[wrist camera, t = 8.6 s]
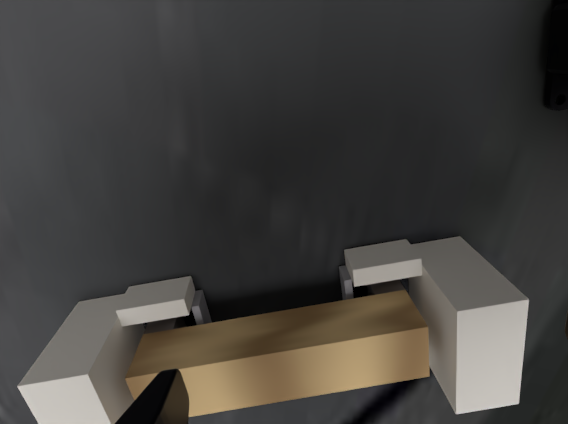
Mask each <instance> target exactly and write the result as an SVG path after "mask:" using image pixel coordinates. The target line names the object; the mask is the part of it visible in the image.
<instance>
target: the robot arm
mask: <svg viewBox="0 0 568 424" xmlns="http://www.w3.org/2000/svg"><path fill="white" fill-rule="evenodd" d="M558 95H560V99H559V101H558V102H557V103H555V100H556V97H557V96H558ZM544 101H545V106H546V107H547V108H549V109H552V110H565V109H568V0H554V5H553V11H552V15H551V26H550V36H549V47H548V57H547V79H546V90H545V100H544ZM565 333H566V336H567V339H568V310H567V317H566V324H565ZM188 418H189V395H188V392H187V389H186V386H185V383H184V380H183V377H182V375H181V372H180V371H179V369H176V368H175V369H169V370H163V371H161V372H159V373H158V374H157V375H156V376H155V378H154V379H153V380H152V381H151V382H150V383H149V384H148V386H147V387H146V388H145V389H144V390H143V391H142V393H141V394H140V395H139V396H138V397H137V398H136V399H135V401H134V402H133V403H132V404H131V405H130V406H129V408H128V409H127V410H126V411H125V412H124V413H123V414H122V416H121V417H120V418H119V419H118V420H117V421H116V422H115V424H188Z"/></svg>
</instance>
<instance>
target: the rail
mask: <svg viewBox="0 0 568 424" xmlns="http://www.w3.org/2000/svg"><path fill="white" fill-rule="evenodd" d="M367 294H368V296H365V297H359V298H353V299H347V300H342V301H336V302H330V303H324V304H318V305H312V306H307V307H301V308H295V309H289V310H283V311H277V312H271V313H266V314H260V315H254V316H248V317H242V318H236V319H230V320H225V321H219V322H213V323H207V324H201V325H195V326H189V327H186V324H185V320H184V317H183V316H181V317H175V318H169V319H164V320H158V321H152V322H148V324H147V326H146V328H145V331H144V333H143V336H142V338H141V341H140V343H139V345H138V348H137V350H136V353H135V355H134V358H133V360H132V362H131V365H130V367H129V370H128V372H127V374H126V377H125V380H126V382H127V385H128V387H129V389H130V392H131V394H132V397H133V399H134V401H135V399H136V398H137V397H138V396H139V395H140V394H141V393H142V391H143V390H144V389H145V388H146V387H147V386H148V384H149V383H150V382H151V381H152V380H153V379H154V378H155V376H156V375H157V374H158V373H159V372H161V371H163V370H169V369H175V368H176V369H179V371H180V372H181V375H182V377H183V380H184V383H185V386H186V389H187V392H188V395H189V417H192V416H198V415H204V414H210V413H216V412H222V411H228V410H234V409H239V408H245V407H251V406H257V405H263V404H269V403H275V402H281V401H287V400H293V399H299V398H305V397H310V396H316V395H322V394H328V393H334V392H340V391H346V390H352V389H358V388H364V387H370V386H375V385H381V384H387V383H393V382H399V381H405V380H411V379H417V378H423V377H429V336H428V326H427V324H426V322H425V321H424V319H423V317H422V316H421V314H420V313H419V311H418V309H417V308H416V306H415V304H414V303H413V301H412V300H411V298H410V296H409V295H408V293H407V291H406V290H405V288H404V287H403V285H402V283H401V282H400V280H399V279H398V280H392V281H386V282H380V283H374V284H369V285H367Z"/></svg>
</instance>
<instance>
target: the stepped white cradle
mask: <svg viewBox="0 0 568 424" xmlns="http://www.w3.org/2000/svg"><path fill="white" fill-rule="evenodd" d="M344 255H345V263H346V265H344V266H339V273H340V281H341V289H342V297H343V300H347V299H353V298H354V297H353V288H352V282H353V284H354V287H357V286H363V285H369V284H374V283H380V282H386V281H392V280H398V279H404V278H408V286H409V296H410V298H411V300H412V301H413V303H414V304H415V306H416V308H417V309H418V311H419V313H420V314H421V316H422V317H423V319H424V321H425V322H426V324H427V326H428V336H429V366H430V368H431V369H432V371H433V373H434V375H435V377H436V379H437V381H438V382H439V384H440V386H441V388H442V390H443V392H444V393H445V395H446V397H447V399H448V401H449V403H450V404H451V406H452V408H453V410H454V412H455V414H462V413H468V412H473V411H479V410H485V409H491V408H497V407H503V406H509V405H515V404H519V395H520V385H521V375H522V365H523V355H524V345H525V335H526V324H527V314H528V304H529V299H528V298H527V297H526V296H525V295H524V294H523V293H521V292H520V291H519V290H518V289H517V288H516V287H515V286H514V285H513V284H512V283H511V282H509V281H508V280H507V279H506V278H505V277H504V276H503V275H502V274H501V273H500V272H499V271H497V270H496V269H495V268H494V267H493V266H492V265H491V264H490V263H489V262H488V261H487V260H485V259H484V258H483V257H482V256H481V255H480V254H479V253H478V252H477V251H476V250H475V249H473V248H472V247H471V246H470V245H469V244H468V243H467V242H466V241H465V240H464V239H463V238H461V237H460V236H458V237H452V238H446V239H440V240H435V241H429V242H423V243H417V244H410V243H409V242H408V240H407V239H403V240H397V241H391V242H386V243H380V244H374V245H368V246H362V247H357V248H351V249H345V250H344ZM191 308H192V311H193V314H194V318H195V321H196V324H197V325H201V324H207V323H212V321H211V317H210V314H209V311H208V307H207V304H206V300H205V297H204V293H203V290H198V291H195V287H194V284H193V281H192V277H191V276H187V277H182V278H176V279H170V280H164V281H158V282H153V283H147V284H141V285H135V286H129V288H128V289H127V291H126V293H125V294H120V295H114V296H108V297H102V298H96V299H90V300H85V301H79V302H78V303H77V305H76V306H75V307H74V309H73V310H72V312H71V313H70V314H69V316H68V317H67V318H66V320H65V321H64V323H63V324H62V325H61V327H60V328H59V329H58V331H57V332H56V334H55V335H54V336H53V338H52V339H51V340H50V342H49V343H48V345H47V346H46V347H45V349H44V350H43V352H42V353H41V354H40V356H39V357H38V358H37V360H36V361H35V363H34V364H33V365H32V367H31V368H30V369H29V371H28V372H27V374H26V375H25V376H24V378H23V379H22V380H21V382H20V383H19V385H18V386H17V387H18V389H19V390H20V392H21V394H22V396H23V397H24V399H25V401H26V403H27V404H28V406H29V408H30V410H31V411H32V413H33V415H34V417H35V418H36V420H37V422H38V424H115V422H116V421H117V420H118V419H119V418H120V417H121V416H122V414H123V413H124V412H125V411H126V410H127V409H128V408H129V406H130V405H131V404H132V403H133V402H134V399H133V397H132V394H131V392H130V389H129V387H128V385H127V382H126V380H125V377H126V374H127V372H128V370H129V367H130V365H131V362H132V360H133V358H134V355H135V353H136V350H137V348H138V345H139V343H140V341H141V338H142V336H143V333H144V331H145V328H144V325H143V323H146V322H152V321H158V320H164V319H169V318H175V317H181V316H187V315H189V313H190V310H191Z"/></svg>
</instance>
